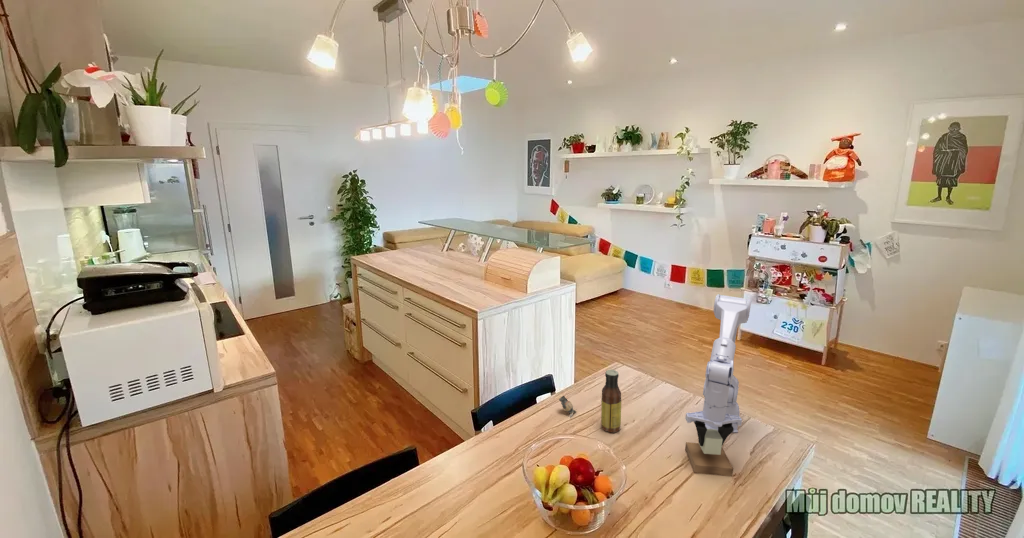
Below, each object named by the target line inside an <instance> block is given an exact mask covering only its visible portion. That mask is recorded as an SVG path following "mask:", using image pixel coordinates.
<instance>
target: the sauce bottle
mask: <svg viewBox="0 0 1024 538" xmlns="http://www.w3.org/2000/svg"><path fill="white" fill-rule="evenodd" d="M604 373H605V374H604V375H605V384H604V385H603V388H602V389H601V405H600V406H601V409H600V410H601V411H600V412H601V414H600V415H601V417H600V418H601V420H600V423H601V424H600V425H601V428H602V430H603V431H606V432H608V433H612V434H613V433H617V432H619V431H620V430H621V425H622V424H621V423H622V392H621V389H620V387H619V383H618V382H619V381H618V380H619V376H620V375H619V372H618V370H616V369H607V370H605V372H604Z"/></svg>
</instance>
